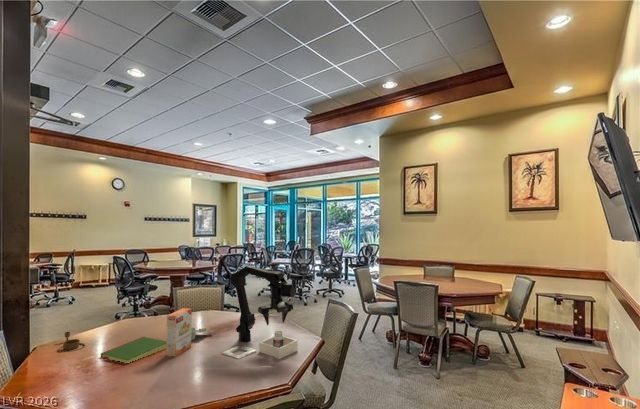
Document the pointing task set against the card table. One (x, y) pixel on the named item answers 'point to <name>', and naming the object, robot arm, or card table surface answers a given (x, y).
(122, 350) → the hardcover book
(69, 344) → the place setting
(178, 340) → the cracker box
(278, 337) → the pill bottle
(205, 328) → the metal bracket
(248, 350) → the socket block
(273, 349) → the bin
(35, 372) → the card table surface
